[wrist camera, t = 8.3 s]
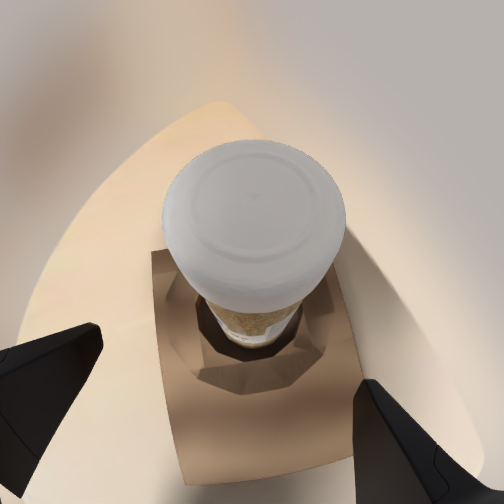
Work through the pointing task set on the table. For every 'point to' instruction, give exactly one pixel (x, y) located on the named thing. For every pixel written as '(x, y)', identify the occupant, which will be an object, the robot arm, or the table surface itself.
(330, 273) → the board
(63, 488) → the table surface
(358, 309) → the table surface
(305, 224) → the sprinkles bottle
